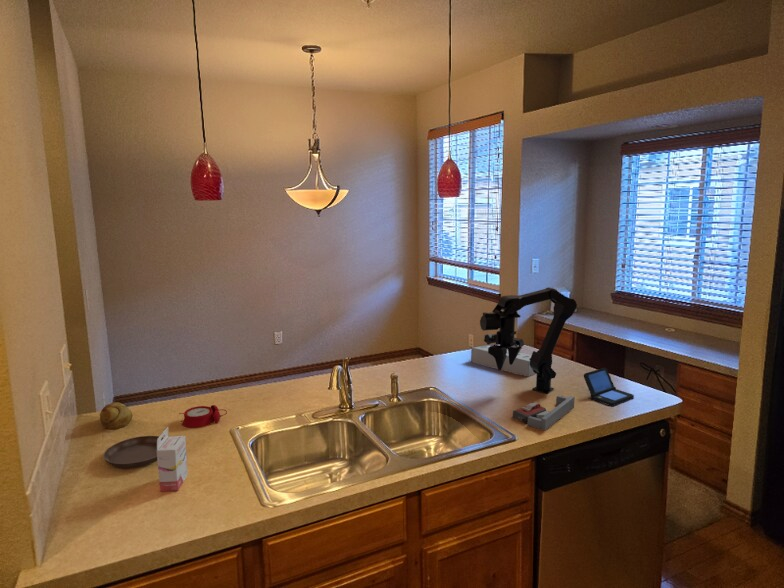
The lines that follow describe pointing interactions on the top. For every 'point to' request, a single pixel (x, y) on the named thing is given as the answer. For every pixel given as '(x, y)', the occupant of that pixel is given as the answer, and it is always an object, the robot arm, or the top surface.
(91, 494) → the top surface
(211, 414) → the alarm clock
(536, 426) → the grey u-shaped bracket
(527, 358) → the low grey-white block
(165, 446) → the ink cartridge box
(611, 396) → the handheld game console
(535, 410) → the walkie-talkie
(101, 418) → the snail shell
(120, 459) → the plant saucer
